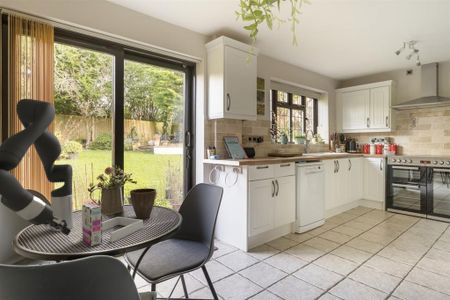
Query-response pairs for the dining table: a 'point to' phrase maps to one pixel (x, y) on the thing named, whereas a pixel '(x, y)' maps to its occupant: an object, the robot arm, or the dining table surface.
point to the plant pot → (143, 202)
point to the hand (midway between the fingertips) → (68, 232)
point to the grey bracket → (130, 227)
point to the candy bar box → (92, 224)
